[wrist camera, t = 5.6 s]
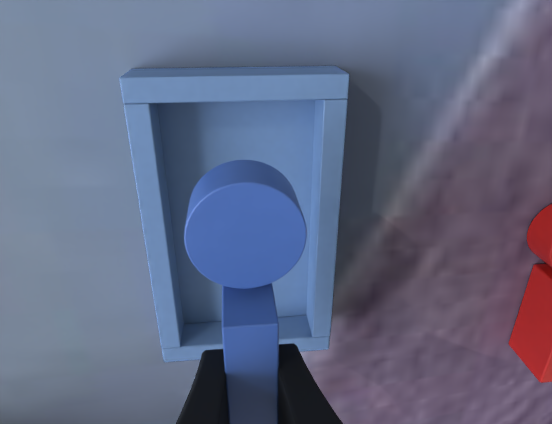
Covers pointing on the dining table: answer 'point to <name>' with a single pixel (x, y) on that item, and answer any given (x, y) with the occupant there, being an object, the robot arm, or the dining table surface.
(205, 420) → the robot arm
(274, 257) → the blue spoon
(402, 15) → the dining table surface
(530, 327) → the red spoon
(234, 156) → the blue tray
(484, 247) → the dining table surface
